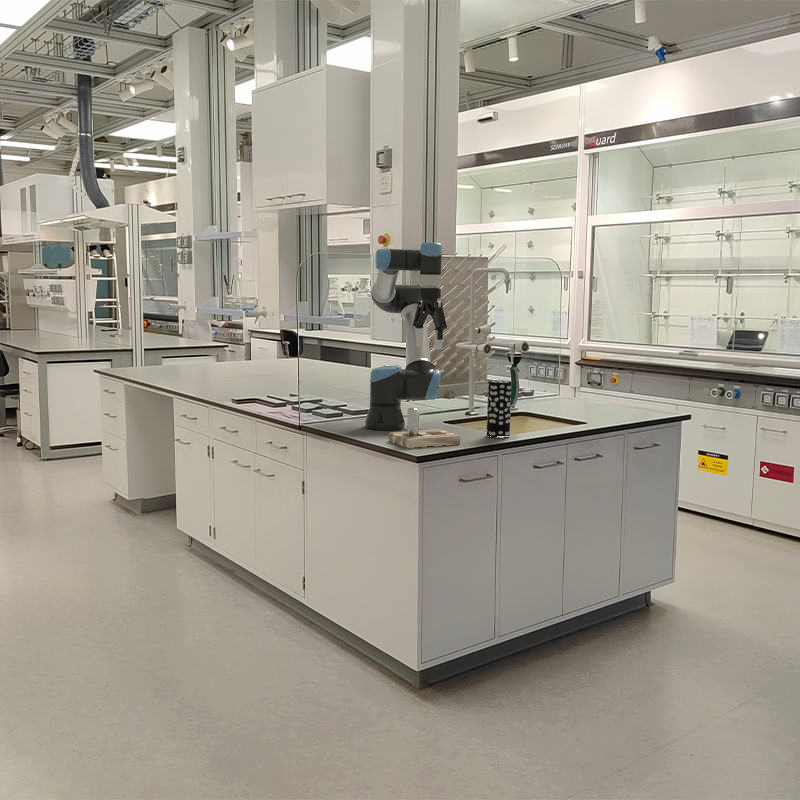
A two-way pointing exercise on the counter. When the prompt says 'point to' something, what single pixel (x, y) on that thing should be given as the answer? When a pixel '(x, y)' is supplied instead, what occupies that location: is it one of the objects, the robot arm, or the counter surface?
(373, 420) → the robot arm
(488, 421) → the spotted tube
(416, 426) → the peg
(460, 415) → the counter surface
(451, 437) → the hole block
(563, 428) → the counter surface
